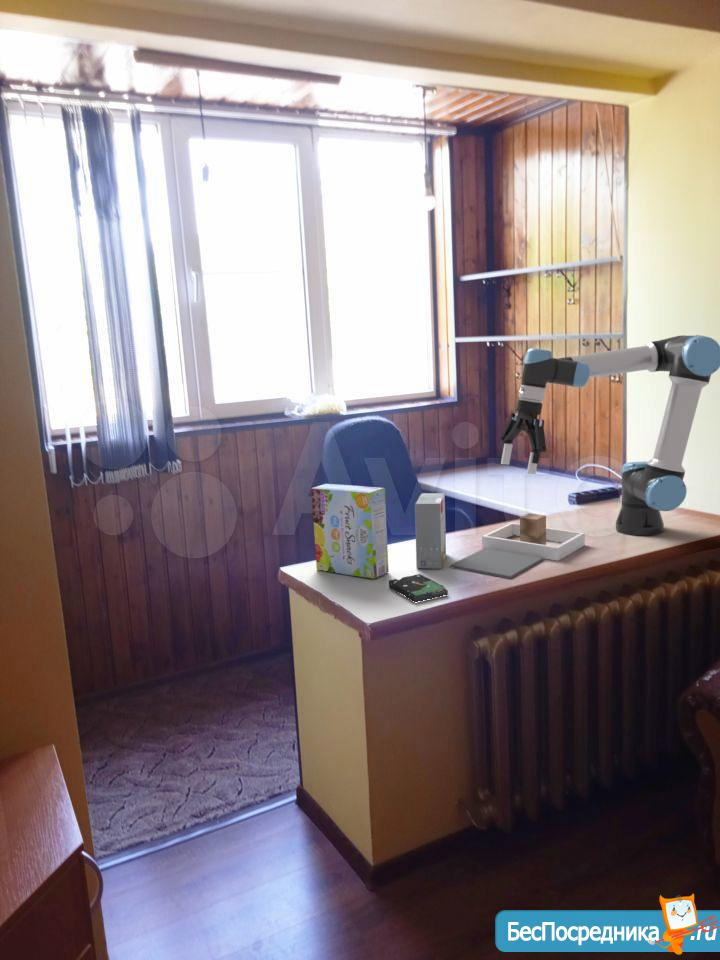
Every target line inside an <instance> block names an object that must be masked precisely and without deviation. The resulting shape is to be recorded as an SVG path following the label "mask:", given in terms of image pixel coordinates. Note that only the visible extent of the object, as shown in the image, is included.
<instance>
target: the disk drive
mask: <svg viewBox="0 0 720 960" xmlns="http://www.w3.org/2000/svg"><path fill="white" fill-rule="evenodd" d="M388 588H389V589H390V588H391V589H390V590H392V589H393V590H395V591H397V592H399V593H401V594H403V595H405V596H406V597H407V598H409V599H411V600H412V601H414V602H418V601H423V600H427V599H432V598H435V597H440V596H443V595H449V592H448V591H449V590H448V589H447V587H445V586H444V585H442V584H441V583H438V582H437V581H434V580H432V579H430V577H429V578H428V577H427V576H425V575H423V574H421V573H418V574H414V575H408V576H404V577H401V579H396V578H394V579H389V580H388ZM393 590H392V591H393ZM395 591H394V592H395ZM397 592H396V593H397ZM399 593H398V594H399ZM407 598H406V599H407ZM409 599H408V600H409ZM432 600H433V599H432ZM412 601H411V602H412ZM414 602H413V603H414Z"/></svg>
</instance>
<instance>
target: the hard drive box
mask: <svg viewBox="0 0 720 960" xmlns="http://www.w3.org/2000/svg"><path fill="white" fill-rule="evenodd" d="M445 494H446V493H441V492H439V493H436V492H435V493H434V492H433V493H430V492H429V493H427V492H426V493H425V492H424V493H423V492H422V493H421V494H420V495H419V496H418V498H417V500H416V502H415V504H414V516H415V521H414V522H415V559H416V561H415V563H416V564H415V565H416V566H415V567H416V569H428V570H429V569H431V570H432V569H433V570H434V569H436V570H437V569H439V570H441V569H442V568H443V565H444V562H445V559H446V555H447V537H446V536H447V533H446V532H447V531H446V509H445V508H446V497H445V496H446V495H445Z"/></svg>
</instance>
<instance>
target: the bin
mask: <svg viewBox="0 0 720 960" xmlns="http://www.w3.org/2000/svg"><path fill="white" fill-rule="evenodd" d="M514 535H516V537H520V523H518V522H517V523H515V522H510V523H508V524H506V525H503V526H501V527H498V528H496V529H495V530H493V531H491V532H488V533H486V534H484V535H482V536H481V549H484V548H488V549H494V550H500V551H506V552H512V553H518V554H525V555H531V556H537V557H543V560H544V559H545V560H549V559H550V561H551V560H552V561H555V560H556V562H557V561H560V560H562V559H564V558H565V557H567V556H568V555H570V554H572V553H575V551H577V550H579V549H581V548H583V546H585V544H586V543H585V542H586V540H585V539H586V534H585V532H581V531H573V530H566V529H558V528H553V527H552V528H551V527H546V541H547V540H549V542H556V543H560V544H558V545H557V546H554V545H548V544H546V545H542V544H535V543H529V542H523V541H520V540H515V539H509V537H512V536H514Z"/></svg>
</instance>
